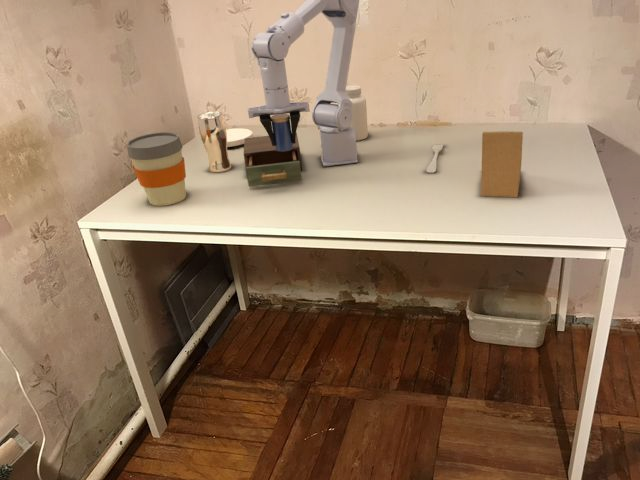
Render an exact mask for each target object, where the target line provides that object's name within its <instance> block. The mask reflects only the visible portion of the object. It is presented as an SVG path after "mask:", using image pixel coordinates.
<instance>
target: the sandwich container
mask: <svg viewBox="0 0 640 480" xmlns="http://www.w3.org/2000/svg"><path fill="white" fill-rule="evenodd" d="M523 137H524V132H523V131H514V130H513V131H511V130H497V131H495V130H493V131H492V130H491V131H483V132H482V137H481V176H480V177H481V179H480V182H481V183H480V184H481V186H480V196H481V197H497V198H499V197H500V198H518V196H519V190H520V181H521V173H522V159H523V139H524V138H523Z"/></svg>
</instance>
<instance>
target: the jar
mask: <svg viewBox="0 0 640 480" xmlns="http://www.w3.org/2000/svg"><path fill="white" fill-rule="evenodd" d="M270 117H271V124H272V130H273V135H274V141H275V148H276V151H281V152H283V151H289V150H292V149H293V142H292V129H291V121H290V114H289V113H287V114H277V115H270Z"/></svg>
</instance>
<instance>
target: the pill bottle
mask: <svg viewBox="0 0 640 480" xmlns="http://www.w3.org/2000/svg"><path fill="white" fill-rule="evenodd" d="M345 94H346V95H347V97H348V98H349V99H350V100H351V101H352V121H351V124H350V126H349V127H354V130H355V136H356V142H358V141H362V140H366V139H367V138H368V136H369V129H368V128H369V127H368V111H367V109H368V108H367V99H366V97H365V96H363V95H362V87H361V86H359V85H346V91H345Z"/></svg>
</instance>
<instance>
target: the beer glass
mask: <svg viewBox="0 0 640 480" xmlns="http://www.w3.org/2000/svg"><path fill="white" fill-rule="evenodd" d="M196 118H197V123H198V124H197V125H198V129H199V135H200V139H201V141H202V144H203V147H204V149H205V151H206V154H207V157H208V169H209V172H211V173H222V172H226V171H229V170H231V169H232V164H231V161H230V158H229V153H228V152H229V151H228V147H227V132H226V130H227V127H226V122H225V119H224V114H223V112H222V111H207V112H206V111H205V112H202V113H200V114H198V115H197V117H196Z"/></svg>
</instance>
